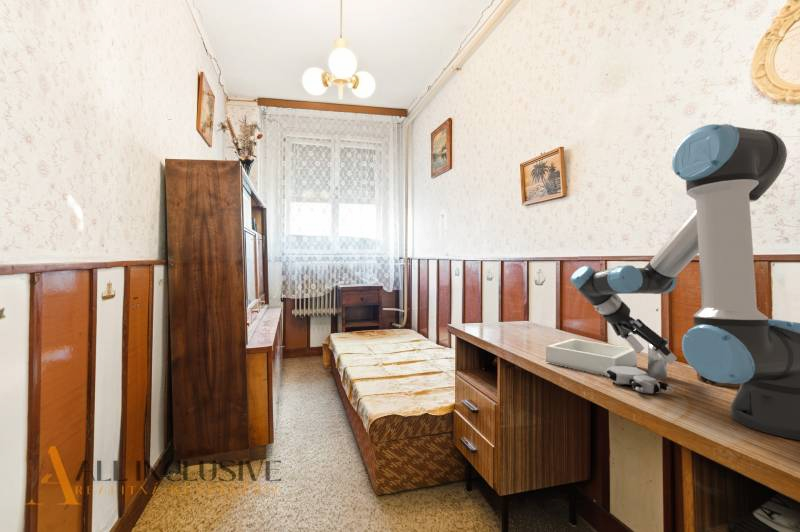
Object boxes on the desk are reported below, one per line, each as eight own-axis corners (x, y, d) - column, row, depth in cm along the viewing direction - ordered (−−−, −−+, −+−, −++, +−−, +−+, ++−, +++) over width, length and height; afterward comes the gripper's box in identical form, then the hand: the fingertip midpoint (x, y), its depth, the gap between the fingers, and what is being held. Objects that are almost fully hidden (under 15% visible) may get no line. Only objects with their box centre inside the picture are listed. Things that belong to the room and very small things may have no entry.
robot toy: (677, 399, 97) (633, 378, 111) (679, 383, 96) (634, 364, 111) (636, 401, 95) (597, 379, 110) (638, 384, 94) (598, 364, 109)
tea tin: (665, 380, 110) (665, 340, 110) (645, 376, 114) (645, 338, 114) (669, 376, 114) (670, 338, 114) (649, 373, 118) (650, 336, 118)
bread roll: (742, 401, 103) (757, 377, 103) (705, 383, 105) (719, 359, 105) (719, 390, 113) (732, 368, 113) (686, 373, 115) (699, 351, 114)
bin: (614, 378, 111) (615, 358, 111) (545, 363, 128) (546, 346, 128) (636, 366, 126) (637, 348, 126) (572, 353, 142) (572, 338, 143)
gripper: (581, 310, 127) (622, 354, 127) (629, 321, 102) (679, 375, 102) (596, 295, 127) (637, 339, 128) (648, 303, 102) (698, 357, 103)
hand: (656, 355), depth 115 cm, fingers open, 13 cm apart
